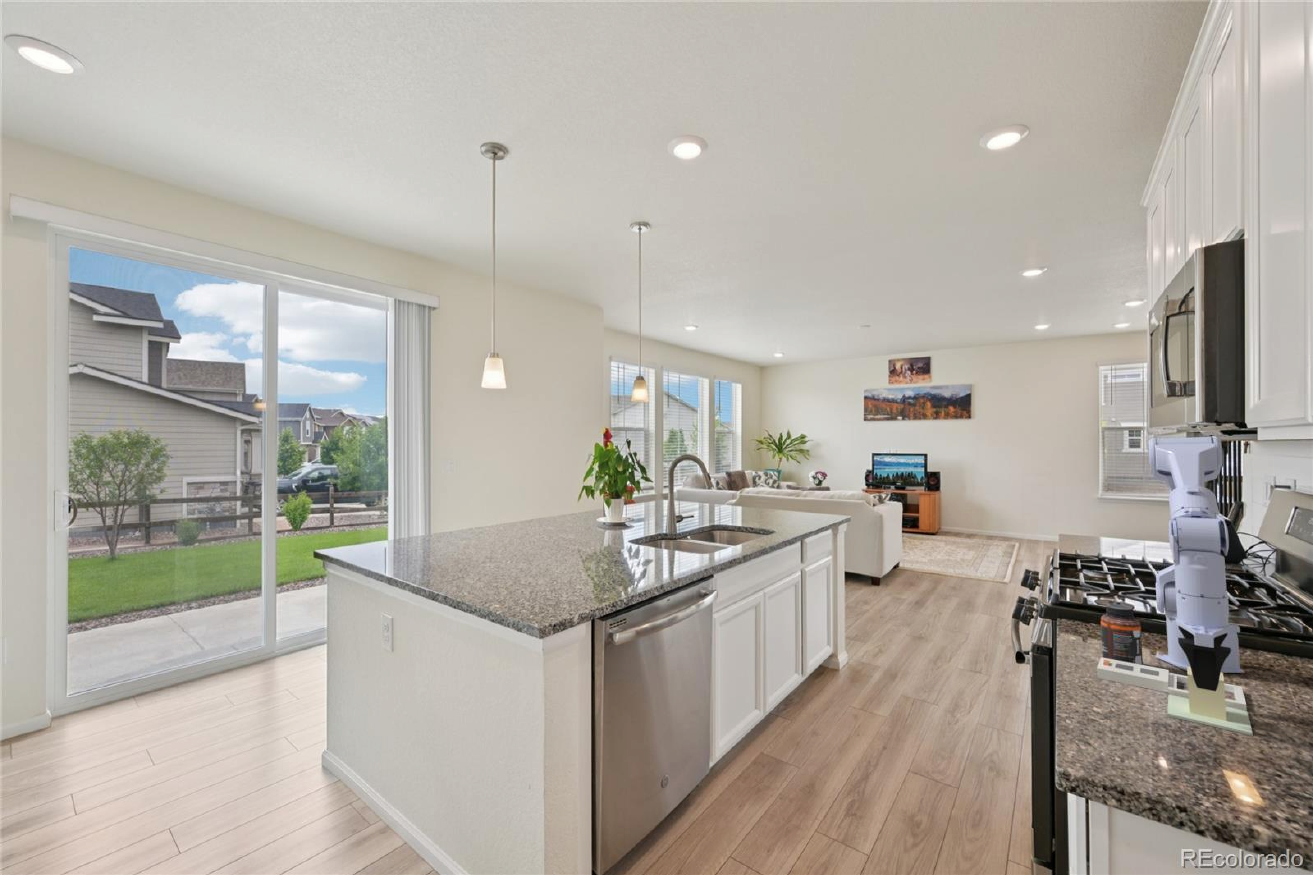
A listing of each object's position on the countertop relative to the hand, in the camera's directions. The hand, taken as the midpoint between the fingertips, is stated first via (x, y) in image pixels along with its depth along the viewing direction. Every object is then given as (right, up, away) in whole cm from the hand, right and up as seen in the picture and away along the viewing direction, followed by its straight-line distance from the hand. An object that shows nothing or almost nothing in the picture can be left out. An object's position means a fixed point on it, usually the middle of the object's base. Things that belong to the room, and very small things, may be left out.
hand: (1205, 680), depth 85 cm
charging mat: (0, -5, 0) cm, 5 cm away
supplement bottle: (+4, -6, +20) cm, 21 cm away
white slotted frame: (+4, -5, +10) cm, 12 cm away
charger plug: (0, -5, 0) cm, 5 cm away
